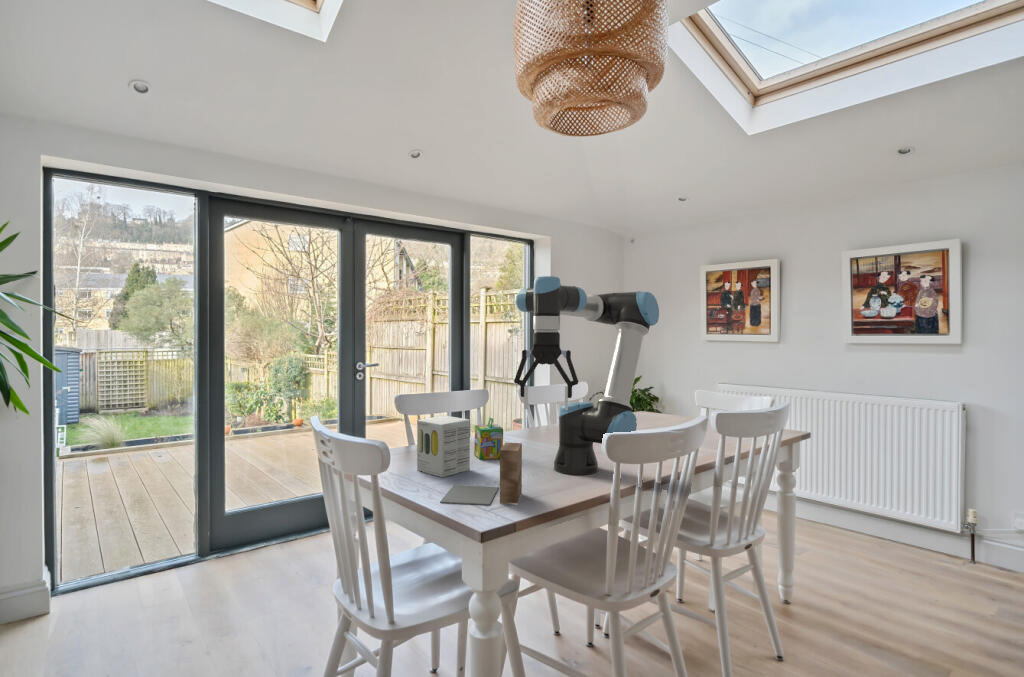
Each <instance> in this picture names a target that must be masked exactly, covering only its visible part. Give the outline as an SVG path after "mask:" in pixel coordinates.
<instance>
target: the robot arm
mask: <svg viewBox="0 0 1024 677" xmlns="http://www.w3.org/2000/svg"><path fill="white" fill-rule="evenodd" d="M515 303H516V307H517V309H518V310H519V311H521V313H522V312H523V313H528V314H529V313H533V316H532V317H533V319H532V324H533V326H532V327H533V331H534V332H533V334H532V336H533V337H532V338H533V339H532V342H533V343H532V344H533V346H532V349H523V350H521V360H520V363H519V365H518V369H517V371H516V374H515V377H514V379H513V383H514V384H516V385H519V387H520V394H519V395H520V398H523V401H524V402H523V403H524V404H523V409H524V410H528V408H529V385H528V384H527V385H526V383H527V382H528V380H529V379H530V377H531V375H533V373H534V372H535V370H536V368H537V366H538V365H554V366H555V367H556V370H557V371H558V372H559V374H560V376H561V378H562V379H563V380H564V382H565V384H566V385H565V386H564V404H562V405H560V407H559V416H558V422H559V423H558V427H559V428H558V432H559V433H558V435H559V438H558V440H559V441H558V442H559V444H558V449H557V453H556V456H555V458H554V462H553V469H554V470H555V471H556V472H559V473H562V474H566V475H577V476H579V475H580V476H581V475H590V474H595V473H597V472H598V470H599V463H598V460H597V457H596V452H595V450H594V443H595V444H601V445H603V444H602V438H603V434H605V433H613V432H631V431H636V432H637V426H638V423H637V416H636V414H635V413H634V412H633V410H634V409H633V406H632V405H631V404H630V401H631V397H632V396H631V395H632V391H633V387H634V382H635V376H636V372H637V366H638V362H639V359H640V358H639V357H640V355H641V354H640V353H641V348H642V342H643V339H644V336H646V335H648V334H649V331H650V328H651V327H653V326H655V325H656V324H657V323H659V322H658V321H659V320H660V319H659V318H660V308H659V304H658V300H657V298H656V296H655V295H654V294H653V293H652V292H650V291H631V292H630V291H629V292H628V291H627V292H626V291H625V292H610V293H602V294H594V293H591V294H588V295H587V292H586V291H585V290H584V289H583V288H582V287H578V286H575V285H573V286H572V285H562V283H561V279H560V277H558V276H553V275H552V276H551V275H546V276H537V277H536V278H534V281H533V287H528V288H522V289H520V290H519V291H518V292H517V293H516V297H515ZM561 315H562V316H569V317H577V318H584V319H585V320H586V321H587V322H588V321H589V322H596V323H601V324H604V325H605V324H606V325H610V326H611V325H612V326H614V327H615V328H616V330H617V336H616V340H615V344H614V347H613V354H612V357H611V361H610V367H609V372H608V376H607V380H606V384H605V385H606V386H605V390H604V394H603V397H601V398H600V399H599V400H597V404H596V406H594V402H592V401H580V402H570V403H569V399H572V396H573V387H574V386H576V385H579V378H578V375H577V373H576V370H575V367H574V364H573V361H572V357H571V356H572V354H571V352H572V351H571V350H569V349H567V350H562V349H561V333H560V332H559V331H561V330H560V329H561ZM530 355H532V356H533V358H534V361H533V363H532V365H530V367H529V369H528V371H527V372H526V374H525V375H524V377H523V378H522V379H521V376H522V374H523V372H524V369H525V365H526V363H527V359H528V358H529V357H530ZM561 355H562V356H563V358H564V359H565V360H566V363H567V366H568V369H569V371H570V374H571V378H572V380H571V379H570V378H569V376H568V375H567V373H566V371H565V370H564V368H563V366H562V364H561V363H560V362H559V360H558V359H559V357H560V356H561Z"/></svg>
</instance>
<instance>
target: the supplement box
mask: <svg viewBox="0 0 1024 677" xmlns="http://www.w3.org/2000/svg"><path fill="white" fill-rule="evenodd" d="M416 434H417V435H416V436H417V438H416V439H417V440H416V443H417V445H416V448H417V449H416V450H417V452H416V453H417V454H416V456H417V458H416V470H417V471H418V472H421V471H422V473H426V474H429V475H432V474H433V476H437V477H439V476H440V477H441V478H443V477H447V476H448V477H449V476H452V475H455V474H459V472H460V473H463V472H467V471H470V468H471V466H470V465H471V463H470V461H471V456H470V455H471V453H470V452H471V451H470V450H471V447H470V446H471V420H470V419H468V418H461V417H455V416H451V415H450V416H449V415H439V416H434V417H433V416H432V417H428V418H422V419H417V420H416Z"/></svg>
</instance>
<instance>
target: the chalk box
mask: <svg viewBox="0 0 1024 677" xmlns="http://www.w3.org/2000/svg"><path fill="white" fill-rule="evenodd" d="M493 423H494V418H492V417H489V419H488V422H487V424H480V425H479V424H475V425H474V446H473V447H474V449H473V451H474V452H473V454H474V456H475V457H476V458H477V459H478V460H480V461H482V460H483V461H486V460H500V449H501V448H502V446H503V445H504V428H503V427H502V426H500V425H499V424H493Z"/></svg>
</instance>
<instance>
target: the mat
mask: <svg viewBox="0 0 1024 677" xmlns="http://www.w3.org/2000/svg"><path fill="white" fill-rule="evenodd" d="M499 490H500V486H487V485H486V486H483V485H458V484H454V485H452V487H451V488H450V489H449V490H448V492H447V493H446V494H445V495H444V496H443V497H442V499H441V500H440V501H439V503H440V502H441V503H440V504H450V503H452V504H451V505H456V504H457V505H472V506H491V503H492V502H493V499H494V498H495V496H496V494H497V492H498V491H499Z"/></svg>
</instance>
